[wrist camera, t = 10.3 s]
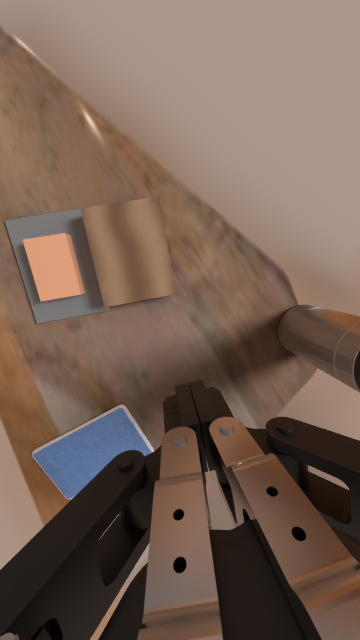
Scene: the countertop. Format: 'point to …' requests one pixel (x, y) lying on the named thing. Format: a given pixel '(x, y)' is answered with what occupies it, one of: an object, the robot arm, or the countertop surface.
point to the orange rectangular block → (54, 266)
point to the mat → (75, 227)
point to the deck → (129, 250)
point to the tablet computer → (90, 449)
